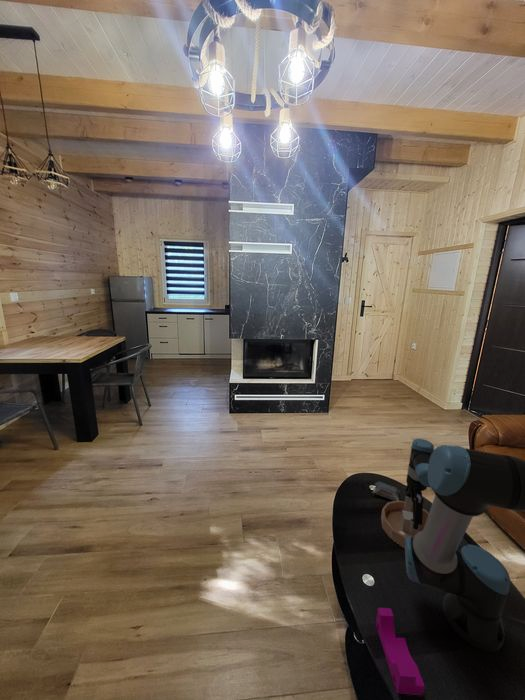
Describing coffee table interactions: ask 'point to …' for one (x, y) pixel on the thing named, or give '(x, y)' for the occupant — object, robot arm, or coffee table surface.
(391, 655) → the toy block
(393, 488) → the packaged food
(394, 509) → the bowl
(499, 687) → the coffee table surface
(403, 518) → the grey cube
